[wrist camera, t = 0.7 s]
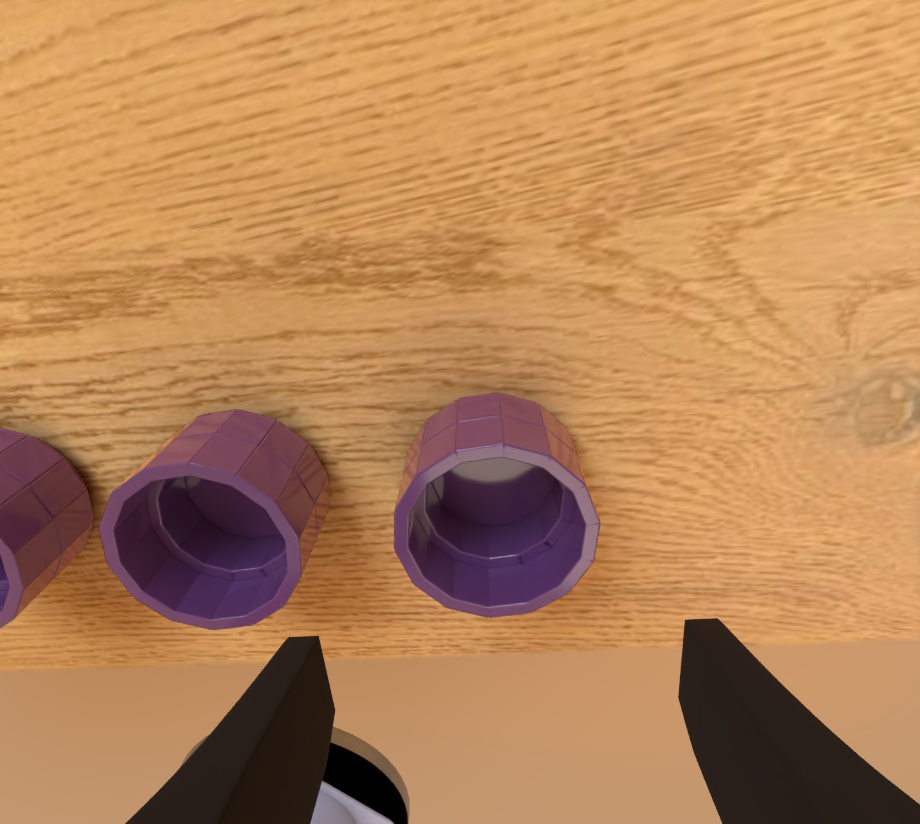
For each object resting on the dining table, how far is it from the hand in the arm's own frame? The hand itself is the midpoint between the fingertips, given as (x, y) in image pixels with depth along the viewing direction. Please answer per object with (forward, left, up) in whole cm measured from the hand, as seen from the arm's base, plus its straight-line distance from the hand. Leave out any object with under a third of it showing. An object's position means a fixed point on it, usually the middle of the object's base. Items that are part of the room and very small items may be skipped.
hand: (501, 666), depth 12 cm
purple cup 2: (0, 0, -8) cm, 8 cm away
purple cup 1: (-6, +6, -8) cm, 12 cm away
